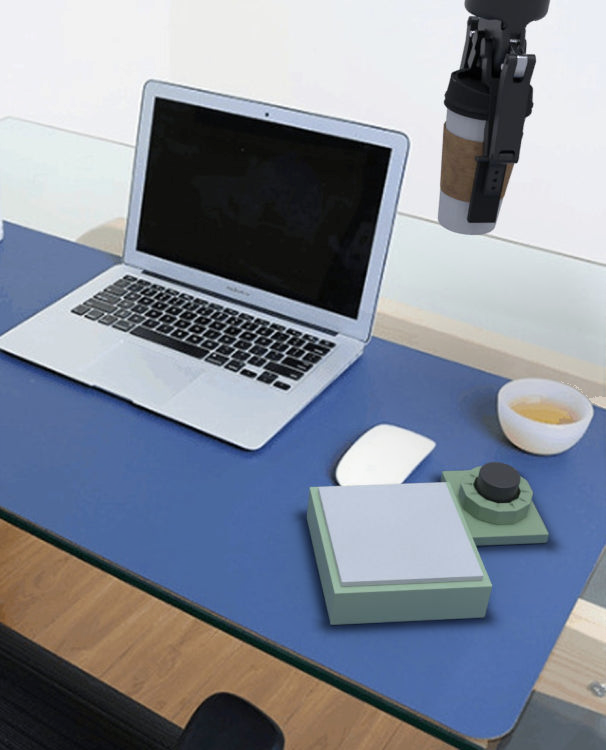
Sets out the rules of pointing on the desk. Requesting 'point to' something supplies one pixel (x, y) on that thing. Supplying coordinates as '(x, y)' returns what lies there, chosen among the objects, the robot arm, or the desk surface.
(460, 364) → the desk surface
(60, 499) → the desk surface
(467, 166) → the coffee cup
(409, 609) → the scale
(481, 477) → the tare button
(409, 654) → the desk surface
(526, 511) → the panel
